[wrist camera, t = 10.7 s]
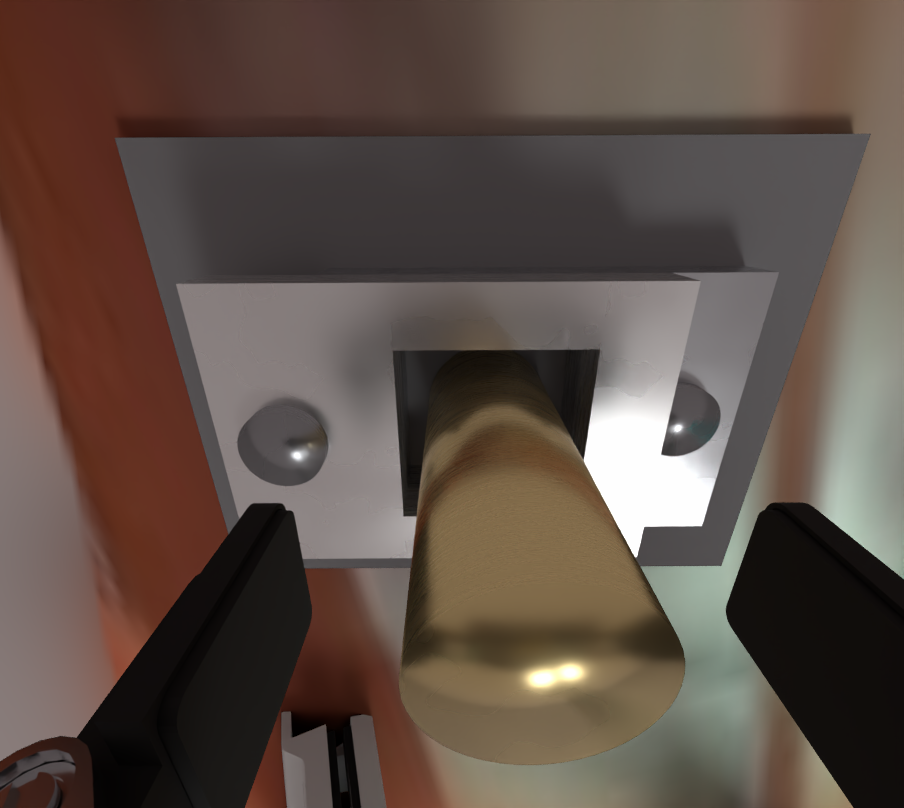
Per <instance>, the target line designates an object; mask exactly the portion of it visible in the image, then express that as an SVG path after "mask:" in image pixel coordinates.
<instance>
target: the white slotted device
mask: <svg viewBox="0 0 904 808" xmlns="http://www.w3.org/2000/svg"><path fill="white" fill-rule="evenodd" d="M281 745H282V757H283V768H284V779H285V790H286V802H287V808H342V804H341V794H340V793H341V792H345V791H348V792H349V799H350V807H351V808H386V802H385V795H384V789H383V783H382V776H381V770H380V764H379V757H378V751H377V744H376V738H375V732H374V725H373V719H372V716H368V715H358V716H352V717H350V726H347V727H344V728H343V743H342V744H341V745H339V746H338V747H336V740H335V731H331V732H328V733H327V731H326V724H325V725H323V726H320V727H318V728H315V729H313V730H311V731H308V732H306V733H303V734H301V735H298V736H296V737H293V736H292V722H291V712H281Z"/></svg>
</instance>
